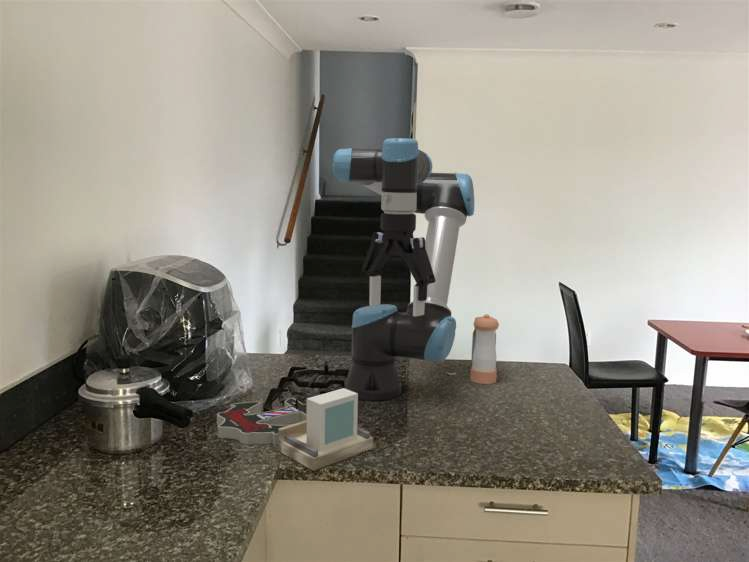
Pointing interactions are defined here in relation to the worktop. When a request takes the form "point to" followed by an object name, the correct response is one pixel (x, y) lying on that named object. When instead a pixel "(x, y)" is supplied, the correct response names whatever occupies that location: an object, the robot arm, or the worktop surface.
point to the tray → (296, 447)
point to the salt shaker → (484, 351)
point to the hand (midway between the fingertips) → (395, 310)
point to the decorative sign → (258, 421)
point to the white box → (332, 419)
